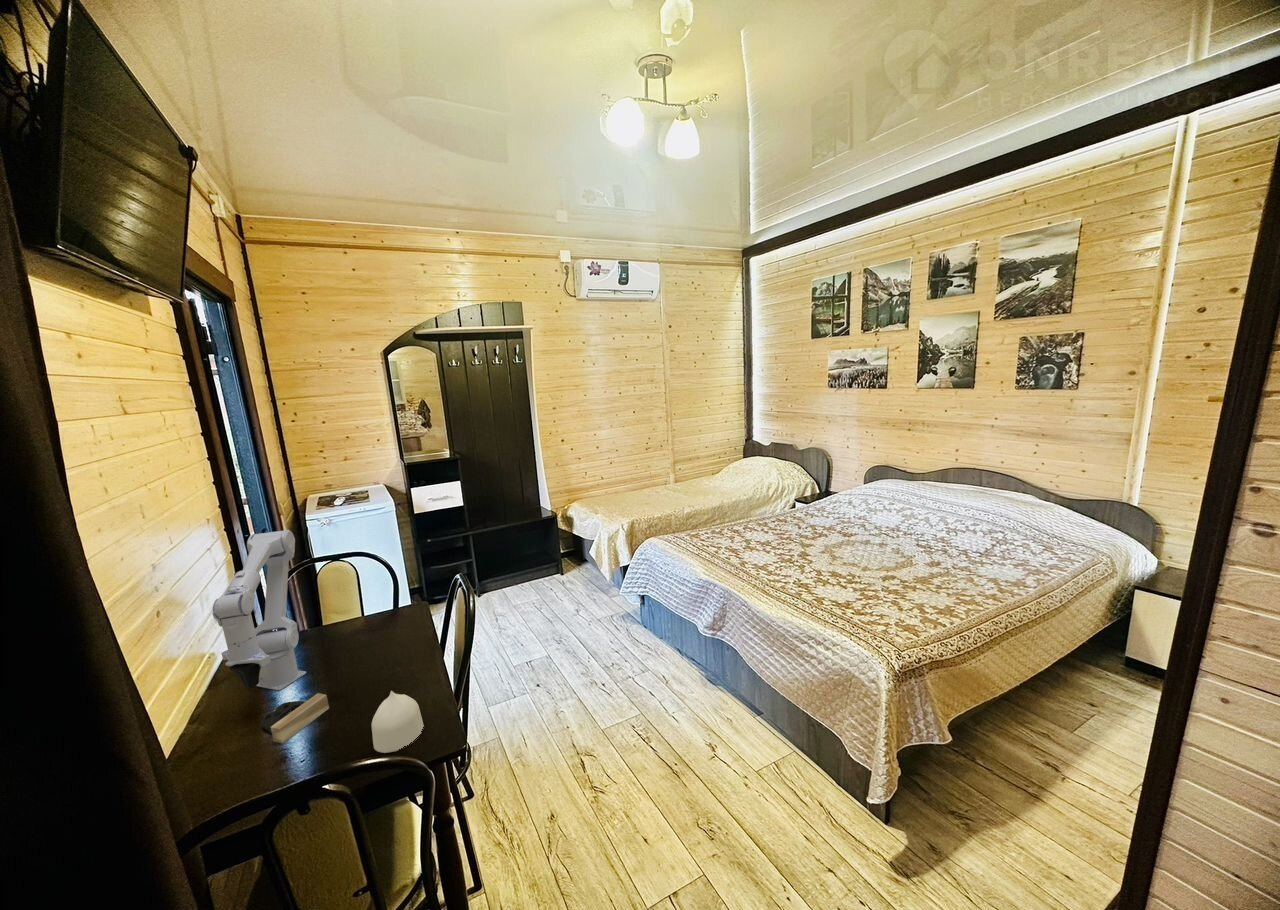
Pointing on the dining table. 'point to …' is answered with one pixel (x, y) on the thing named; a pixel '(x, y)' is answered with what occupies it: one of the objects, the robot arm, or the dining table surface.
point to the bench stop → (299, 718)
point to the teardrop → (396, 723)
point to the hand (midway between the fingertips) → (252, 686)
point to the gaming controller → (279, 714)
